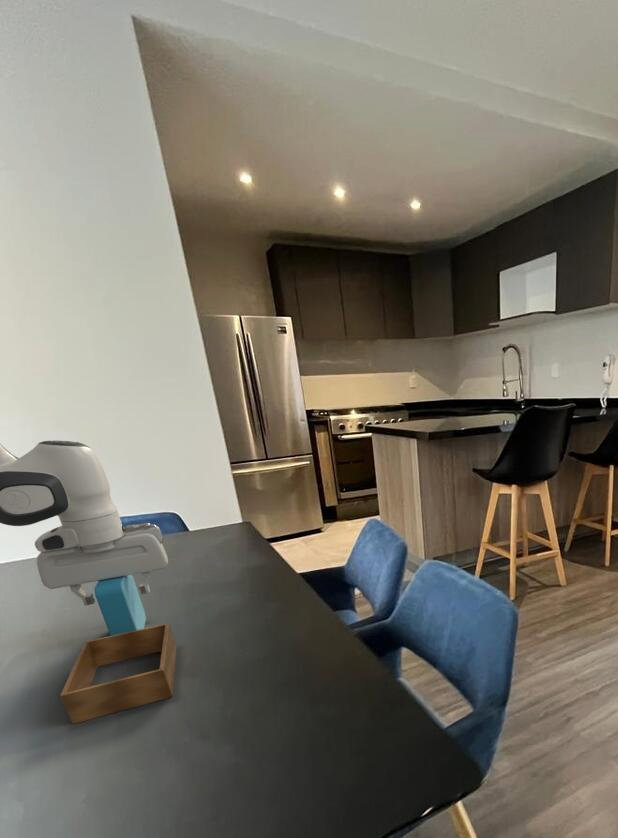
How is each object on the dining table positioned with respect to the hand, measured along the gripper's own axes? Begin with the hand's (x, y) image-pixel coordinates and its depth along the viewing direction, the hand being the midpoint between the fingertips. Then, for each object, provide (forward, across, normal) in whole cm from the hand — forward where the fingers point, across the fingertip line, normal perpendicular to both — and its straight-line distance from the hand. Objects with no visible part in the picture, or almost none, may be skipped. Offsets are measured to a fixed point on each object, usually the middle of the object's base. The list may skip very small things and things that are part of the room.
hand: (118, 598), depth 96 cm
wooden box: (+8, -2, +21) cm, 22 cm away
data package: (+8, 0, 0) cm, 8 cm away
